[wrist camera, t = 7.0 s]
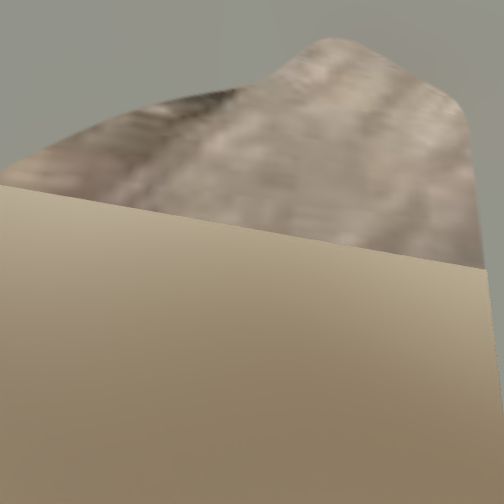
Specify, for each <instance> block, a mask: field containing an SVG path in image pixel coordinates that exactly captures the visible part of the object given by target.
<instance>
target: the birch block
mask: <svg viewBox="0 0 504 504" xmlns="http://www.w3.org/2000/svg"><path fill="white" fill-rule="evenodd" d="M0 504H504V413H503V404H502V397H501V388H500V379H499V371H498V362H497V354H496V345H495V337H494V328H493V320H492V312H491V303H490V295H489V286H488V278H487V270H483V269H477V268H472V267H466V266H460V265H455V264H449V263H443V262H437V261H432V260H426V259H420V258H415V257H409V256H403V255H397V254H392V253H386V252H380V251H375V250H369V249H363V248H357V247H352V246H346V245H340V244H335V243H329V242H323V241H317V240H312V239H306V238H300V237H295V236H289V235H283V234H277V233H272V232H266V231H260V230H255V229H249V228H243V227H237V226H232V225H226V224H220V223H215V222H209V221H203V220H197V219H192V218H186V217H180V216H175V215H169V214H163V213H157V212H152V211H146V210H140V209H135V208H129V207H123V206H117V205H112V204H106V203H100V202H95V201H89V200H83V199H77V198H72V197H66V196H60V195H54V194H49V193H43V192H37V191H32V190H26V189H20V188H14V187H9V186H3V185H0Z"/></svg>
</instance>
